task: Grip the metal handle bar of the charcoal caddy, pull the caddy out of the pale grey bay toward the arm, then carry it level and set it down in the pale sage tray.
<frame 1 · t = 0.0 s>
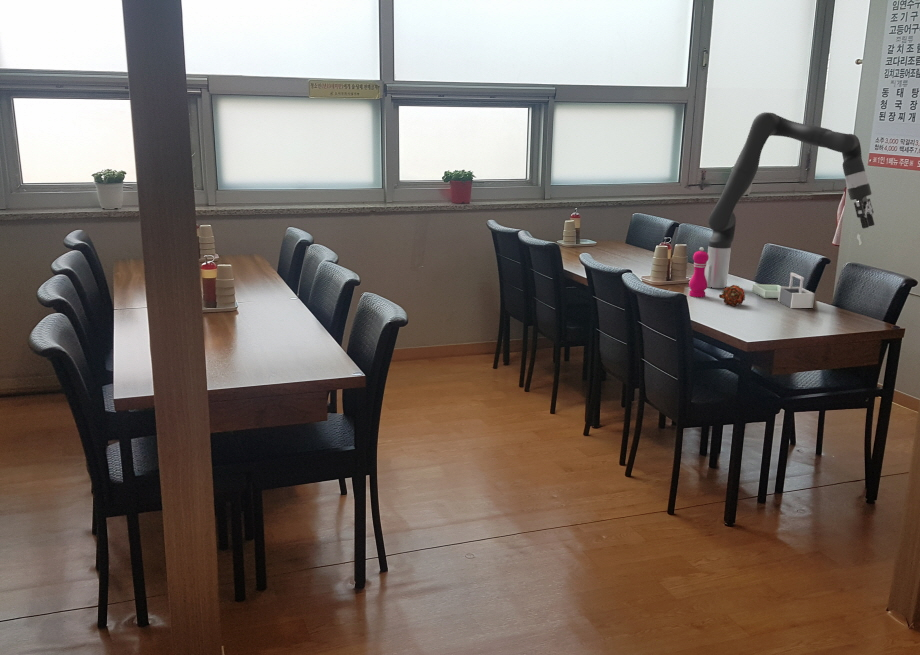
hand: (868, 226, 303), 31 cm above the table, tool tilted 20°, fingers open, 8 cm apart
pepper mill: (697, 296, 326), on the table
caddy: (793, 305, 313), on the table
tray: (771, 295, 330), on the table
brown scaly oval lump: (731, 305, 312), on the table
bay: (794, 305, 313), on the table
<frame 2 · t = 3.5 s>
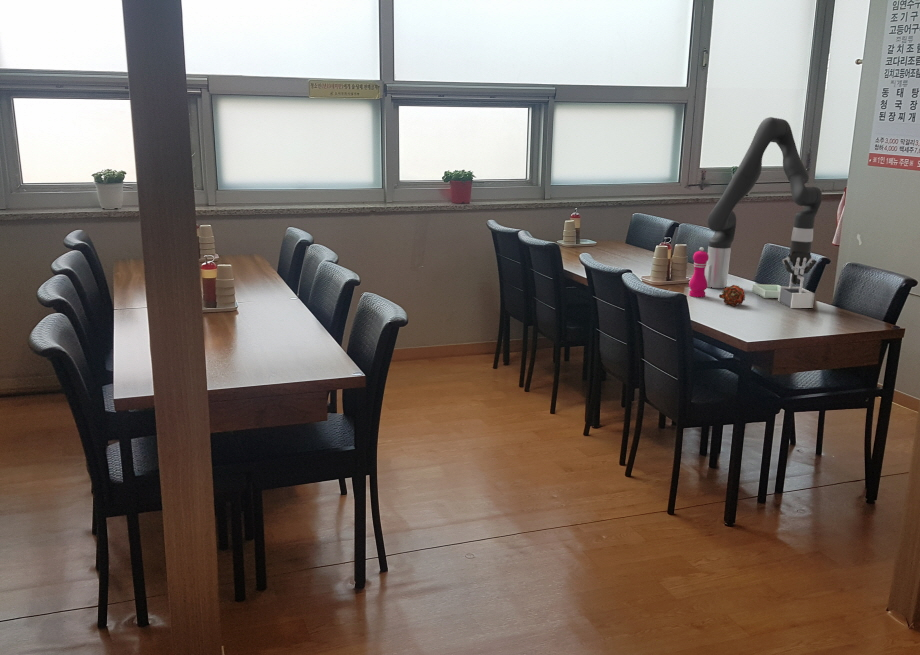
hand: (796, 283, 311), 9 cm above the table, tool pointing down, fingers closed on caddy
caddy: (793, 305, 313), on the table, touching gripper
everything else where it was.
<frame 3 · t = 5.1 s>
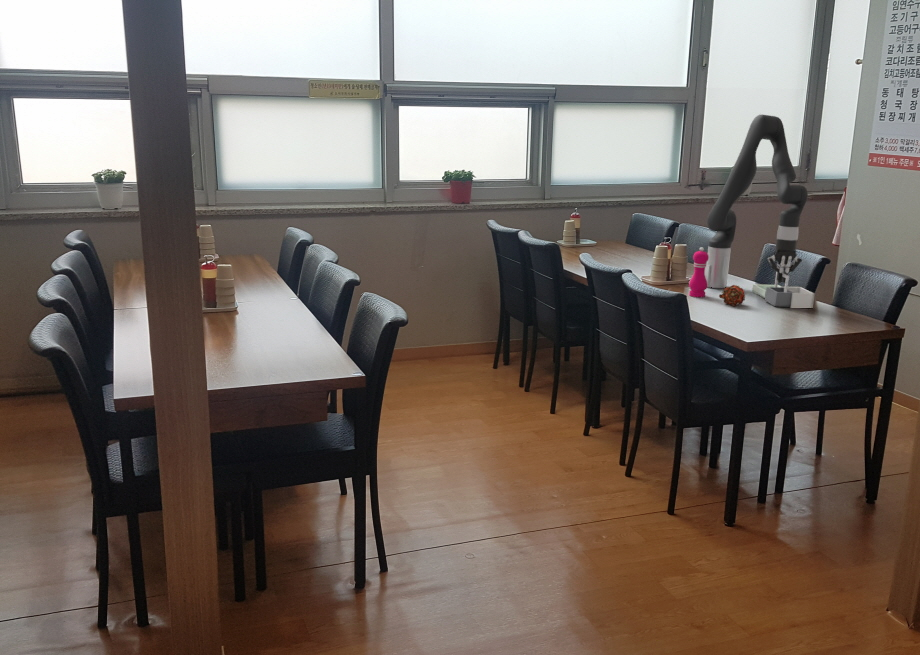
hand: (781, 282, 311), 9 cm above the table, tool pointing down, fingers closed on caddy
caddy: (778, 303, 313), on the table, touching gripper
everything else where it was.
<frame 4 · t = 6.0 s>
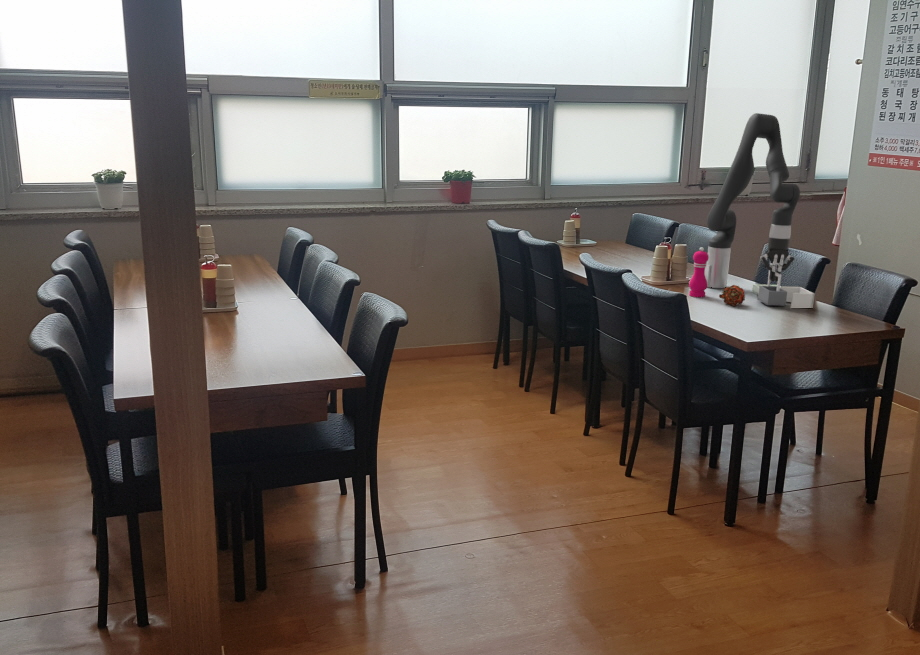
hand: (774, 280, 311), 10 cm above the table, tool pointing down, fingers closed on caddy
caddy: (771, 302, 313), point 1 cm above the table, touching gripper
everything else where it was.
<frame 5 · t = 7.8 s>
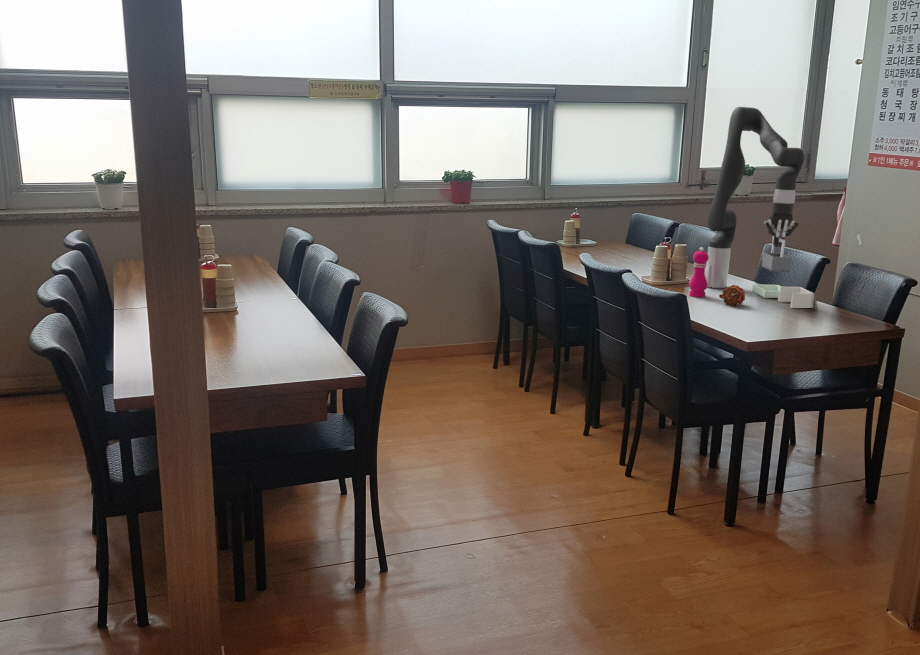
hand: (777, 246, 308), 23 cm above the table, tool pointing down, fingers closed on caddy
caddy: (775, 269, 310), point 14 cm above the table, touching gripper
everything else where it was.
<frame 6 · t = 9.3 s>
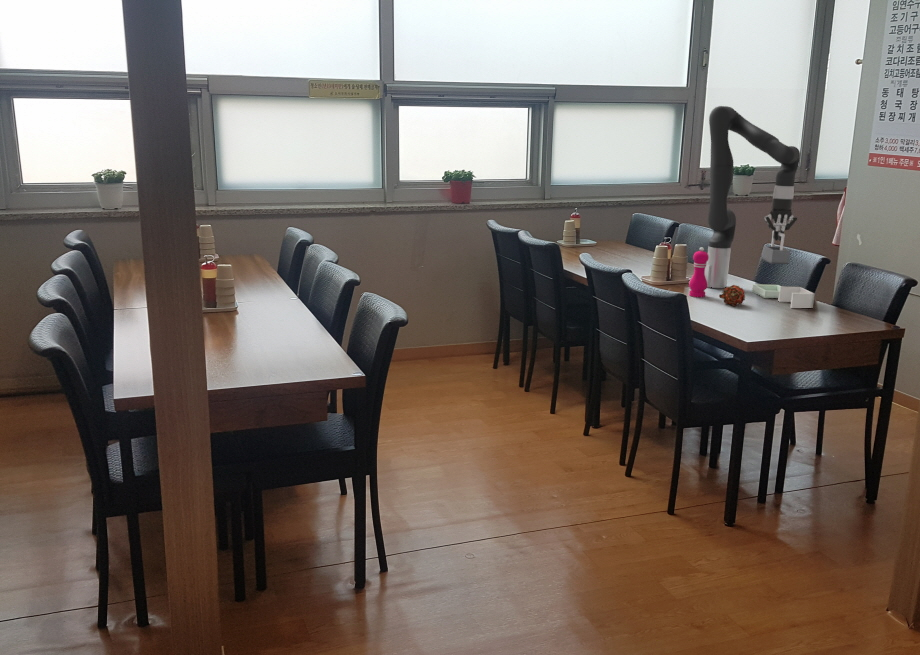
hand: (777, 240, 325), 23 cm above the table, tool pointing down, fingers closed on caddy
caddy: (775, 261, 327), point 14 cm above the table, touching gripper
everything else where it was.
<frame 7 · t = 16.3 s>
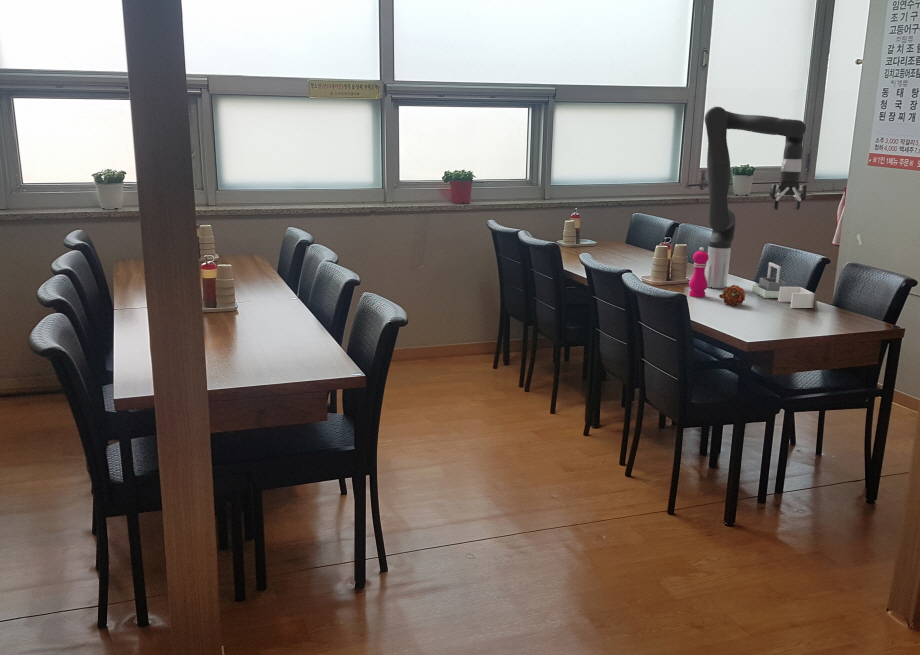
hand: (785, 210, 332), 34 cm above the table, tool pointing down, fingers open, 8 cm apart
caddy: (771, 293, 330), point 1 cm above the table, touching tray
everything else where it was.
at the end: caddy 0.1 cm off-centre on the tray, point 0.8 cm above the tray's base; caddy tilted 0°; the gripper is holding nothing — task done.
